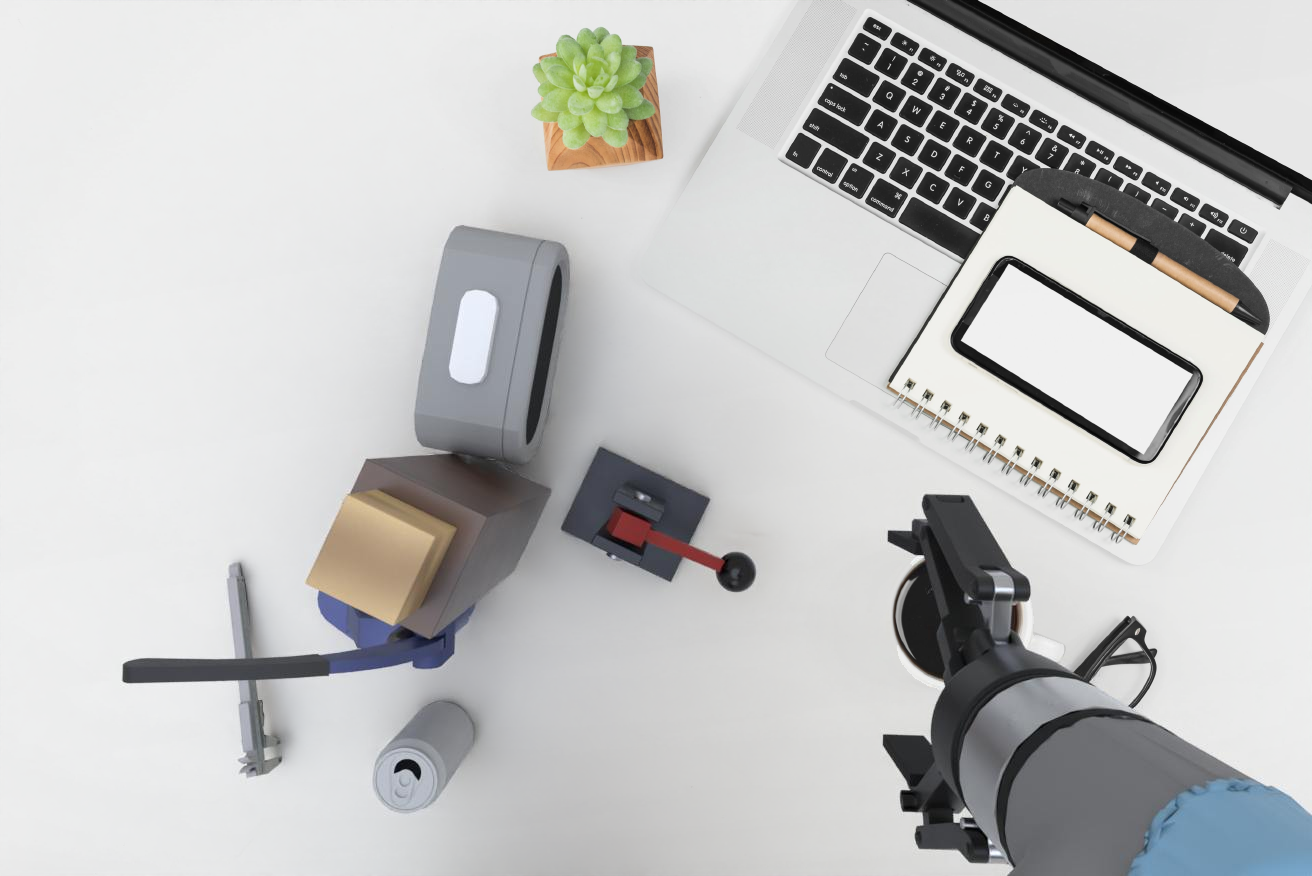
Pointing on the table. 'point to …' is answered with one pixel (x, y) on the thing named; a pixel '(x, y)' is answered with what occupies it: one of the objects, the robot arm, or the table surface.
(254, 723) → the caliper
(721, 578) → the clamp lever
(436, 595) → the dark brown block
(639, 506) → the toggle clamp
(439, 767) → the beverage can
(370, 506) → the jaw block
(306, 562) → the table surface
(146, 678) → the clamp
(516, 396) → the alarm clock
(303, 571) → the table surface
